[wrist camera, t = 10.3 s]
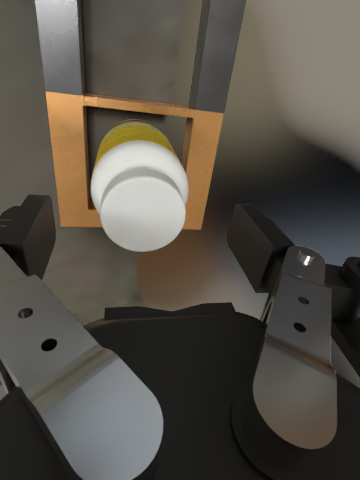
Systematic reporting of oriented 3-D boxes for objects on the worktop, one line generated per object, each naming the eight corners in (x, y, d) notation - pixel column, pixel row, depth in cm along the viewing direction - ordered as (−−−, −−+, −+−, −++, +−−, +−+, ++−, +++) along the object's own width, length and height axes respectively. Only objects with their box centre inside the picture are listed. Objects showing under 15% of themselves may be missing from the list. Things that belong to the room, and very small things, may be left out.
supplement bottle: (84, 137, 19) (56, 191, 11) (153, 104, 19) (177, 135, 11) (121, 200, 22) (120, 278, 14) (181, 173, 22) (216, 237, 14)
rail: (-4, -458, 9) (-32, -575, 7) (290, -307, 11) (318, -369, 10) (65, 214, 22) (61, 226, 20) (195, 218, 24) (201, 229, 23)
